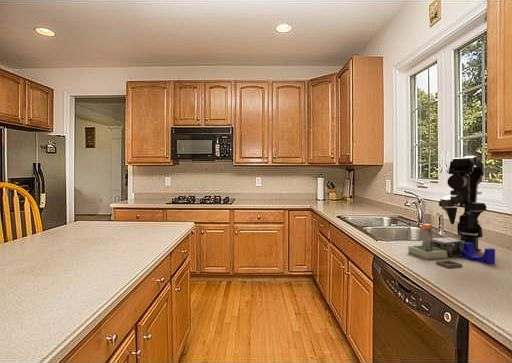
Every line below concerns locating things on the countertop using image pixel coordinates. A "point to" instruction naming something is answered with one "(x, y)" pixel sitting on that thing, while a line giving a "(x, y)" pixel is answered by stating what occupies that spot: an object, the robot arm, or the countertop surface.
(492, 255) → the cable clip
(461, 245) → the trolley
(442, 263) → the pin collar
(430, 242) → the pin
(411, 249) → the tray
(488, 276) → the countertop surface
